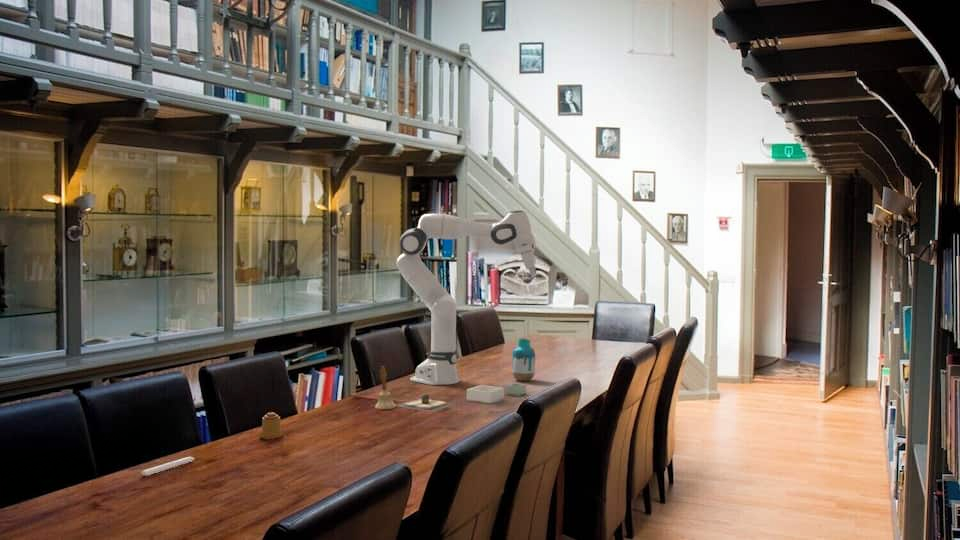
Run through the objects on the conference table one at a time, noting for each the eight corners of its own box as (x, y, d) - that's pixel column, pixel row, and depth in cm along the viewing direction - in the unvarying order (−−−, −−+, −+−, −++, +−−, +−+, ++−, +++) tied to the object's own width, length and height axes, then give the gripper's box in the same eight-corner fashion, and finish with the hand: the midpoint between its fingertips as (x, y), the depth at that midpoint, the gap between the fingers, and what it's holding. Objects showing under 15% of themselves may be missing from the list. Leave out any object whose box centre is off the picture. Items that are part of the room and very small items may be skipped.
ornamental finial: (283, 439, 265) (259, 440, 263) (282, 433, 273) (259, 434, 271) (283, 415, 265) (259, 416, 263) (282, 410, 272) (259, 411, 270)
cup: (506, 394, 339) (506, 385, 339) (513, 392, 344) (513, 383, 344) (518, 396, 336) (518, 387, 336) (525, 394, 341) (525, 384, 341)
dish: (466, 401, 325) (466, 389, 325) (481, 396, 335) (481, 384, 334) (489, 405, 320) (490, 392, 319) (504, 400, 329) (504, 387, 329)
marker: (192, 461, 240) (192, 453, 240) (197, 462, 239) (197, 454, 239) (140, 477, 225) (140, 469, 225) (145, 478, 224) (145, 470, 224)
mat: (394, 406, 314) (394, 405, 314) (418, 399, 327) (418, 398, 327) (432, 413, 304) (432, 411, 304) (455, 405, 318) (455, 404, 318)
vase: (535, 383, 365) (536, 341, 364) (511, 382, 365) (512, 340, 364) (534, 378, 376) (535, 337, 374) (511, 378, 376) (512, 337, 375)
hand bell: (392, 409, 308) (390, 368, 306) (371, 409, 309) (369, 368, 308) (399, 404, 316) (396, 364, 314) (378, 404, 317) (376, 364, 316)
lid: (403, 405, 314) (403, 395, 314) (421, 400, 324) (422, 390, 324) (428, 409, 308) (428, 399, 307) (446, 404, 318) (446, 394, 318)
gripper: (520, 244, 368) (528, 273, 370) (517, 250, 348) (526, 281, 350) (533, 241, 367) (541, 270, 369) (531, 246, 347) (540, 277, 349)
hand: (534, 275), depth 359 cm, fingers open, 8 cm apart
